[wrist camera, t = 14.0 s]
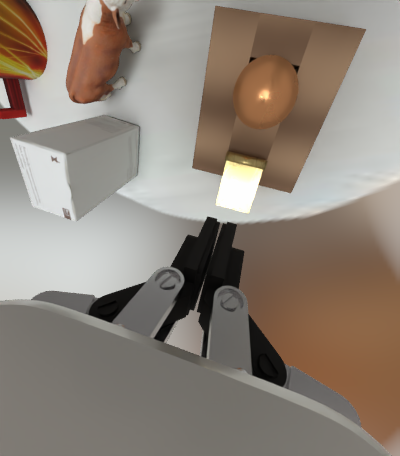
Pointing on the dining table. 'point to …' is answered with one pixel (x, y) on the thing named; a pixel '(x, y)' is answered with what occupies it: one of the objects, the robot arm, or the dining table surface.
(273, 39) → the block
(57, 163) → the skincare box
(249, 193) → the plate
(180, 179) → the dining table surface
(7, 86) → the mug
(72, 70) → the bull figurine
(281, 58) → the orange-brown domed cylinder
